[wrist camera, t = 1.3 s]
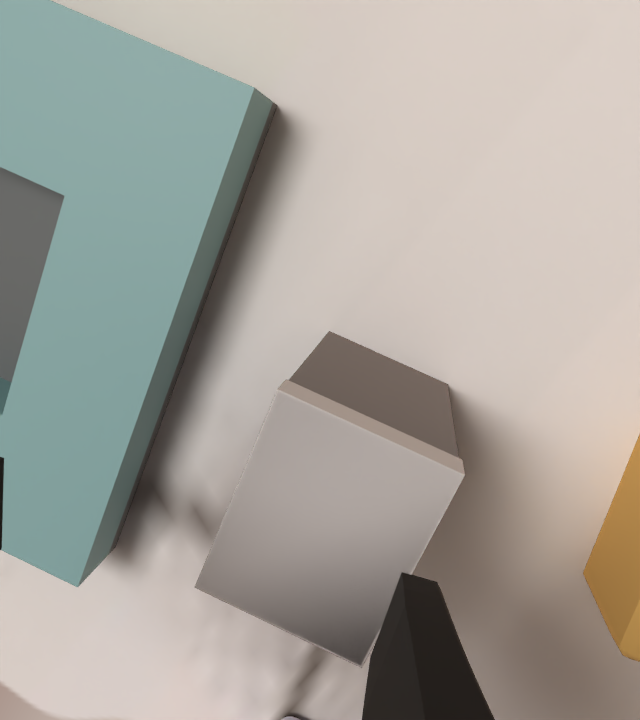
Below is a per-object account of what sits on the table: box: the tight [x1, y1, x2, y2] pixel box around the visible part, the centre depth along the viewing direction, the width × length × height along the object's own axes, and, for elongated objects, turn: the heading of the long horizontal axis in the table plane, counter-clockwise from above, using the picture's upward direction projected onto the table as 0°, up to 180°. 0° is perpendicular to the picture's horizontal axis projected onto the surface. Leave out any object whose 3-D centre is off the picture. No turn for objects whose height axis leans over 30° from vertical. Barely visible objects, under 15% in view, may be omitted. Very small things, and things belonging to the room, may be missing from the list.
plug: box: [195, 331, 465, 668], centre depth 16 cm, size 4×5×7 cm
